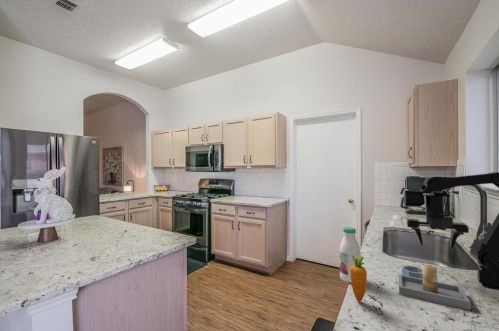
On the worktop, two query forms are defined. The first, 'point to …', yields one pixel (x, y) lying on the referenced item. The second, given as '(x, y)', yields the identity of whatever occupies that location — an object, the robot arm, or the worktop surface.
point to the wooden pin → (429, 278)
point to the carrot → (358, 278)
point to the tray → (445, 294)
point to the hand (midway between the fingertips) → (436, 246)
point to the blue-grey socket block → (412, 271)
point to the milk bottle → (348, 252)
